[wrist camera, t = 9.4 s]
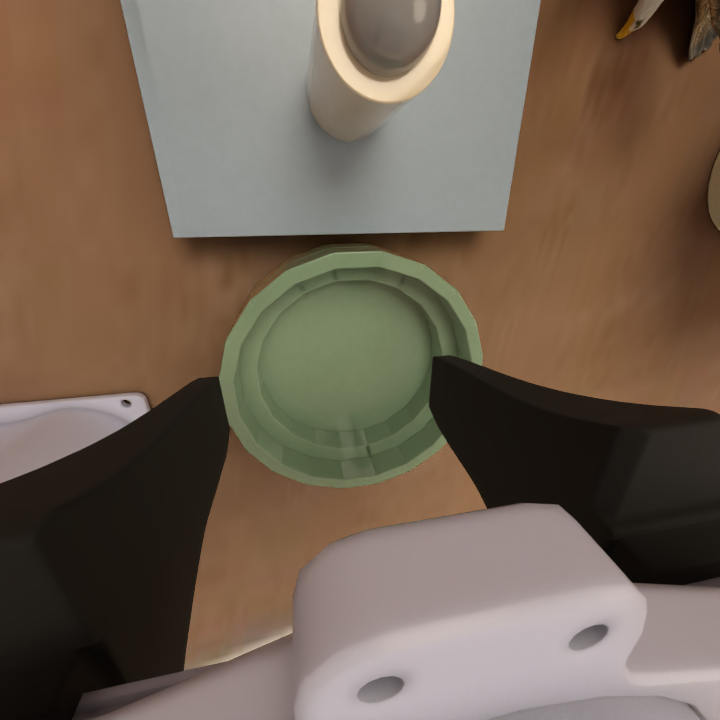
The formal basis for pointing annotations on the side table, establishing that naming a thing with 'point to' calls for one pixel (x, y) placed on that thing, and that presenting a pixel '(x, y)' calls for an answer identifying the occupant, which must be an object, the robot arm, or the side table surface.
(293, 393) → the bowl
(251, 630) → the side table surface
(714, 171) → the reusable coffee cup
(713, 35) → the eagle figurine
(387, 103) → the shaker
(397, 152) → the book
